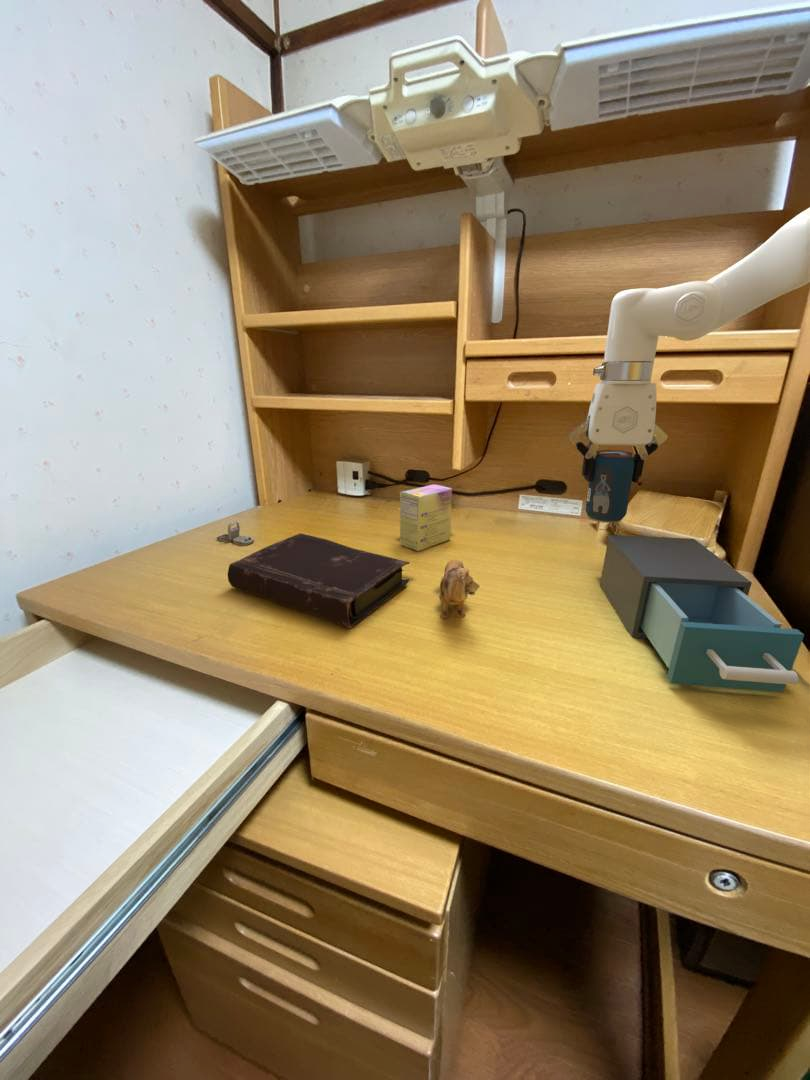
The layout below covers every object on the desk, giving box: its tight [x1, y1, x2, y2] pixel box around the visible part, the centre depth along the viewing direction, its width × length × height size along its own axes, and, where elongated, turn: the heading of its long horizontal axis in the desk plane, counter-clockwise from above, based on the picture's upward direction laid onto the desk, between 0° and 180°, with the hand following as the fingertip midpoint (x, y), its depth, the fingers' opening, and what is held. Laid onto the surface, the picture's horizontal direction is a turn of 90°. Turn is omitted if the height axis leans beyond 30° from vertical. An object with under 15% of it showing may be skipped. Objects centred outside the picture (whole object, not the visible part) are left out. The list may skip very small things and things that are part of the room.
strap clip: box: [216, 521, 255, 546], centre depth 99 cm, size 8×3×4 cm, turn 65°
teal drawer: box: [640, 582, 805, 693], centre depth 58 cm, size 20×12×8 cm, turn 173°
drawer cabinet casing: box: [599, 534, 752, 639], centre depth 71 cm, size 17×14×10 cm
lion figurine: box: [438, 558, 480, 619], centre depth 72 cm, size 15×5×9 cm, turn 3°
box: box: [399, 483, 453, 552], centre depth 98 cm, size 10×6×12 cm, turn 134°
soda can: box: [584, 449, 635, 524], centre depth 82 cm, size 7×7×12 cm
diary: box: [226, 533, 410, 629], centre depth 79 cm, size 19×25×5 cm
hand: (610, 479), depth 82 cm, fingers closed on soda can, 7 cm apart
